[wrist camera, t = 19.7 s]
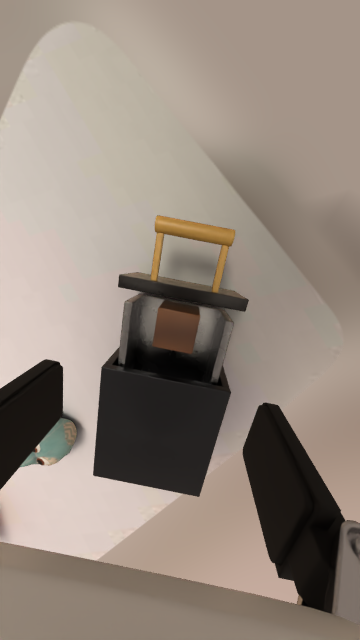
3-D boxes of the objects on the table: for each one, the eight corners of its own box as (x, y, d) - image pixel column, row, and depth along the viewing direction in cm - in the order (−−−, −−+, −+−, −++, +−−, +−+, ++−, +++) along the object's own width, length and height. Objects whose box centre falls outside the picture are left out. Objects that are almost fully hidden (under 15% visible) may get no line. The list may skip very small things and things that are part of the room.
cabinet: (126, 338, 28) (101, 366, 20) (220, 356, 28) (231, 392, 20) (116, 424, 32) (92, 475, 24) (197, 440, 32) (199, 497, 24)
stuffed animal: (-35, 434, 27) (25, 436, 24) (17, 399, 34) (70, 396, 30) (1, 489, 30) (60, 498, 26) (42, 447, 37) (94, 449, 33)
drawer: (143, 222, 23) (125, 207, 17) (247, 242, 23) (267, 234, 17) (125, 372, 28) (107, 401, 22) (208, 389, 28) (213, 423, 22)
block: (164, 299, 24) (158, 307, 20) (199, 306, 24) (200, 315, 20) (158, 332, 25) (151, 346, 21) (192, 339, 25) (192, 354, 21)
